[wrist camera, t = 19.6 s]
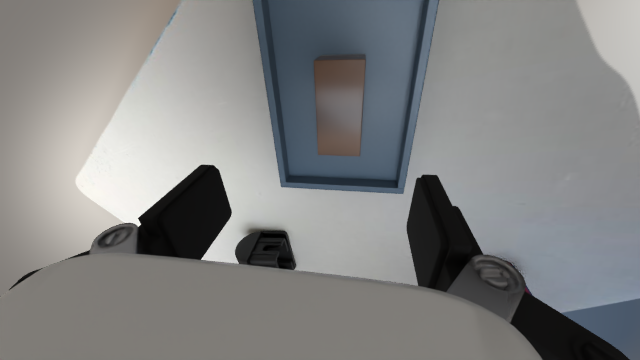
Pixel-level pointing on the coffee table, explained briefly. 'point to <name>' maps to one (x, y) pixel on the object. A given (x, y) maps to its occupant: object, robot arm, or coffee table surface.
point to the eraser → (339, 103)
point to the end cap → (266, 250)
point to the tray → (379, 88)
